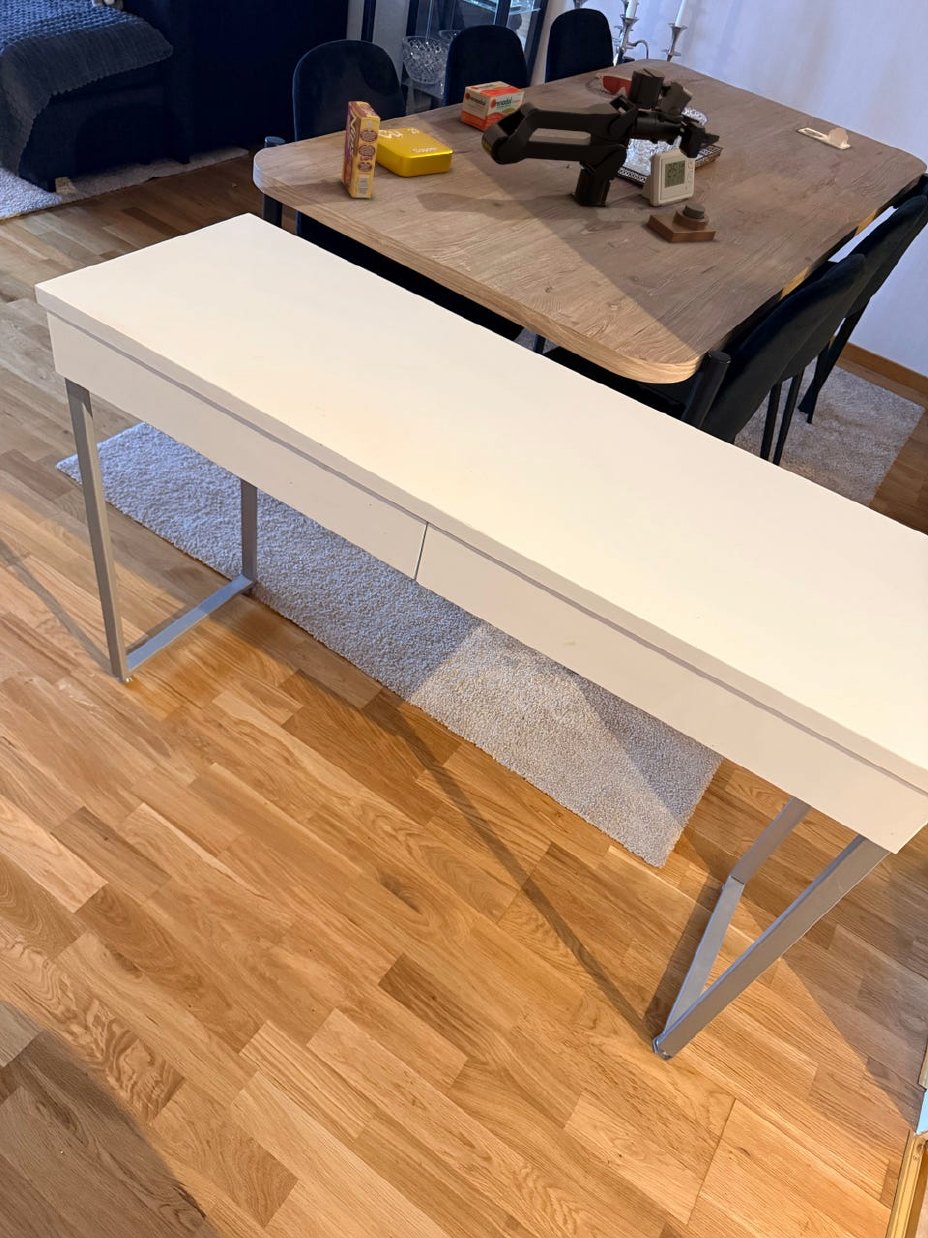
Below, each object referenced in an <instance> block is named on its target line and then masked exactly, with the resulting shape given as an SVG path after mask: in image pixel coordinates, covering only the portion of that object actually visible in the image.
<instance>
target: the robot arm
mask: <svg viewBox="0 0 928 1238" xmlns="http://www.w3.org/2000/svg"><path fill="white" fill-rule="evenodd" d="M631 79H632V81H631V85H630V89H629V92H628V96H627V95H626V94H624V93H620V94H619V95H618V96H616V97H614V98H613V99H611V100H610V101H608V102H603V103H602V102H601V103H594V104H591V105H589V106H586V107H575V106H565V105H564V106H562V105H551V104H541V103H540V104H539V103H534V102H531V101H527V102H524V103H522V106H521V107H520V108H519V109H517V110H516V111H514V112H512V113H510V114H508V115H506V116H504V117H503V118H501V119H500V120H499V121H498V122H497V123H496V124H493V125H490V126H489V127H488V128H487V129H486V130H485V131H483V133H482V136H481V142H480V143H481V147H482V149H483V150H484V152H486V154H487V155H488V156H489V157H490V158H491V159H492V161H493V162H494V163H496V164H497V165H500V166H506V165H514V164H518V163H521V162H522V161H524V160H527V159H531V160H545V161H557V162H558V161H559V162H576V163H578V164H579V166H581V167H582V168H580V171H579V174H578V178H577V182H576V186H575V190H574V191H571V192H570V195H571V196H572V197H573V198H574V199H575V200H576V202H578V204H579V205H581V206H583V207H600V208H602V207H603V208H607V206H608V204H607V203H606V201H607V198H608V195H609V191H610V188H611V184H612V183H611V181H614V179H615V178H616V177H617V175H618V173H619V172H620V170H621V169H622V168H623V166H624V164H625V163H626V161H627V159H628V147H629V145H630V141H631V140H639V141H649V142H650V143H652V144H653V145H658V144H659V142H661V143H666V144H667V145H668V146H674V145H675V141H676V140H677V139H678V137H679V138H681V139H680V142H679V145H678V148H679V149H680V152H681V153H683V154H684V155H685V156H686V157H687V158H695V159H696V158H698V157H699V153H700V152H701V151H703V150H705V149H706V148H708V147H710V146H713V145H715V144H716V143H717V142H719V141H720V138H721V137H720V135H718V134H716V133H713V132H710V131H707V130H706V126H704V125H703V124H702V123H700V120H699V119H696V118H694V117H692V116H690V115H687V114H686V113H685V114H684V113H683V112H684V111H685V109H686V107H687V106H688V104H689V103H690V102H691V100H692V99H693V96H694V93H693V92H692V91H690V90H688V89H687V88H686V87H684V86H683V85H681V84H680V83H679V82H677V81H672V80H671V81H670V83H669V82H664V81H665V79H666V74H665V73H664V72H662V71H661V70H657V69H654V68H649V67H643V68H638V70H635V69H634V70H633V72H632V75H631ZM660 97H661V98H660ZM620 109H621V110H623V111H624V113H623V112H622V111H621V110H620ZM540 129H542V130H556V131H567V132H580V133H586V134H588V135H589V136H587V137H586V138H573V137H561V136H549V135H535V134H534V133H535V132H536V131H537V130H540ZM533 134H534V135H533Z"/></svg>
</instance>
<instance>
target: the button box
mask: <svg viewBox="0 0 928 1238" xmlns="http://www.w3.org/2000/svg"><path fill="white" fill-rule="evenodd" d="M684 208H685V206H684V207H683V206H681V207H678V208H677V209H676V210H675V213H661V214H659V213H657V214H650V215H649V217H648V220H647V225H648V227H650V228H651V229H653V230H654V231H655V232H656V233H658V234H659V235H661V237H663V238H665V240H667V241H668V242H670V243H686V242H705V241H706V242H709V241H714V238H715V236H716V231H717V230H716V229H714V228H713V227H712V226H710V225H709V222H710V216H709V215H708V214H707V213H705V212H704V215H703V218H702V219H694V218H690V217H688V216H686V215H684V214H683V211H684Z"/></svg>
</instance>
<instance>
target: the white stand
mask: <svg viewBox="0 0 928 1238" xmlns="http://www.w3.org/2000/svg"><path fill="white" fill-rule="evenodd" d="M797 133H800V134H802V135H805V136H807V137H810V138H812V139H814V140H816V141H819V142H821V143H824V144H826V145H828V146H830V147H833V148H835V149H838V150H844V149H848V148H851V144H848V143H847V142H848V141H849V136H848V134H847V130H846V129H845V128H842V127H836V128H835V129H834V128H833V129H831V130H829V133H828V135H827V134H824V133H821V132H819V131H817V130H815V129H812V128H810V127H805V128H802V129H798V130H797Z"/></svg>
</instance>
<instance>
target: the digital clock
mask: <svg viewBox="0 0 928 1238" xmlns="http://www.w3.org/2000/svg"><path fill="white" fill-rule="evenodd" d="M695 167H696V158H687V157H686V156H685V155H684V154H683V153H681V152H680V149H679V147H677V148H672V149H668V150H662V152H661V151H660V152H656V153H654V154H652V155H651V157H650V173H649V174H648V175H646V178H645V181H644V184H643V188H642V190H641V194H640V195H641V196H642V197H643V198H645V199H647V200H649V203H650V205H651V206H653V207H658V206H659V207H660V206H667V205H670V204H674V203H678V202H682V201H684V200H687V199H690V198H691V197H692V196H693V195H694V191H695V190H694V189H695V188H694V187H695Z"/></svg>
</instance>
